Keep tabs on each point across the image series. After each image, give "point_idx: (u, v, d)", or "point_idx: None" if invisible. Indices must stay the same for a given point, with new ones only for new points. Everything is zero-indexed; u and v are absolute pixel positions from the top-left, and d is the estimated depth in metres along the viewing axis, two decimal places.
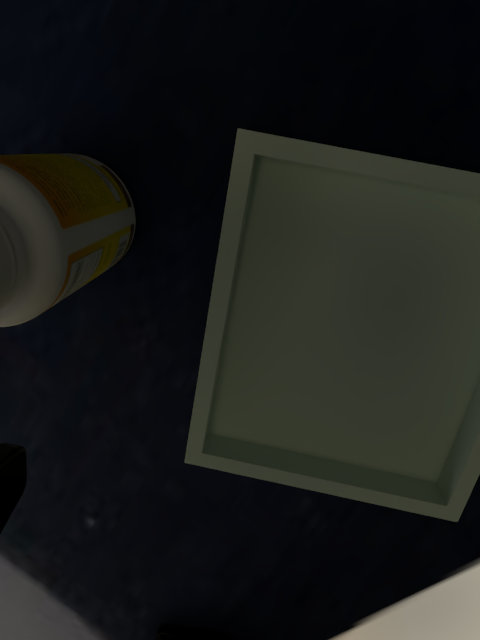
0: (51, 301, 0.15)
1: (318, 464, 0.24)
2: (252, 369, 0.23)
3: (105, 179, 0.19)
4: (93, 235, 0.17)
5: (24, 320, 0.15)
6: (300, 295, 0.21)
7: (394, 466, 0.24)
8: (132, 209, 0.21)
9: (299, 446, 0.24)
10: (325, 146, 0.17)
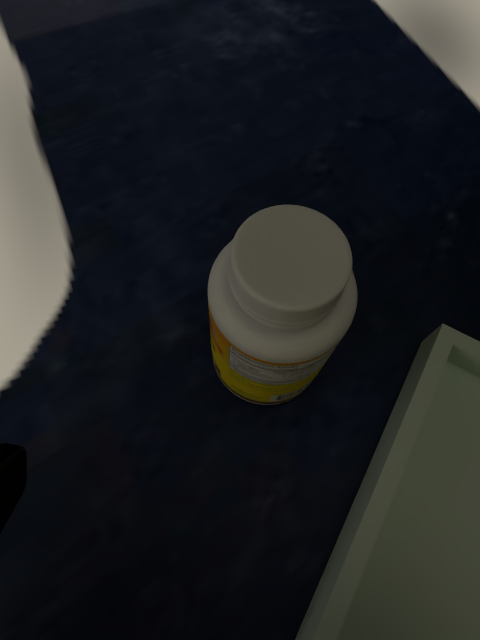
0: (325, 350, 0.16)
1: None
2: (395, 567, 0.19)
3: None
4: None
5: (296, 355, 0.16)
6: (460, 492, 0.21)
7: None
8: None
9: None
10: None
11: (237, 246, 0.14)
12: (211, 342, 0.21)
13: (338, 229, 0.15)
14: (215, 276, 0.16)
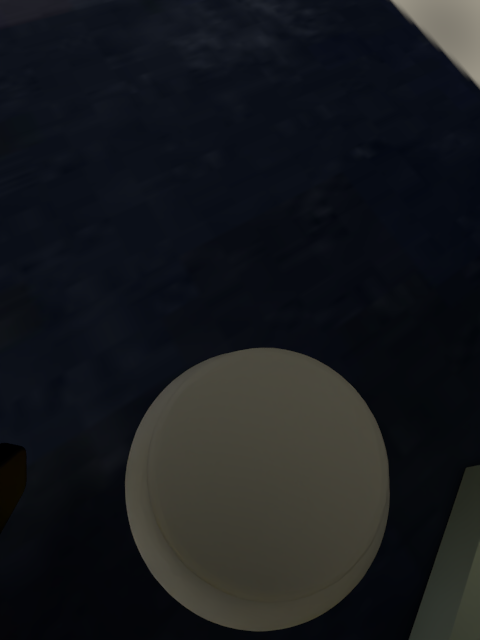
0: (333, 606, 0.09)
1: None
2: None
3: None
4: None
5: (280, 627, 0.08)
6: None
7: None
8: None
9: None
10: None
11: (160, 445, 0.07)
12: None
13: (360, 402, 0.08)
14: (136, 460, 0.09)
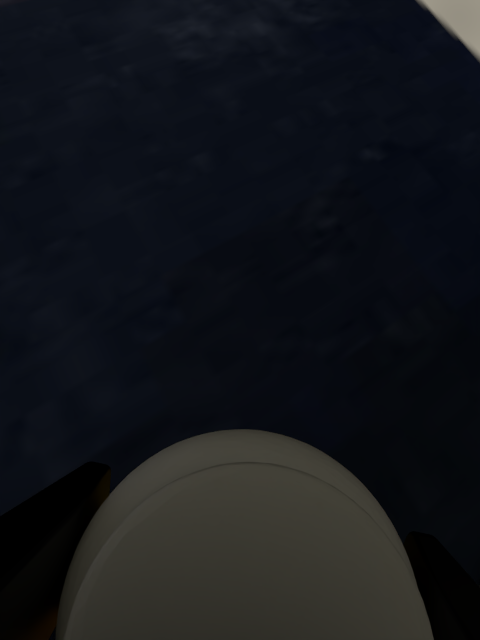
0: None
1: None
2: None
3: None
4: None
5: None
6: None
7: None
8: None
9: None
10: None
11: (81, 637, 0.05)
12: None
13: (392, 555, 0.05)
14: (70, 602, 0.06)
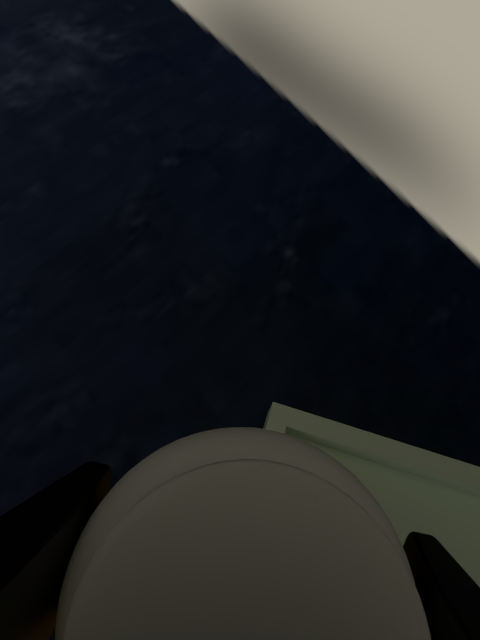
0: None
1: None
2: None
3: None
4: None
5: None
6: None
7: None
8: None
9: None
10: (352, 428, 0.19)
11: (80, 633, 0.05)
12: None
13: (389, 551, 0.05)
14: (69, 599, 0.07)
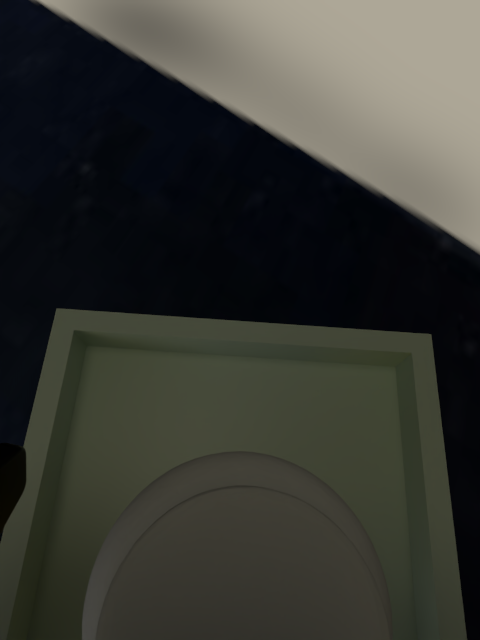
0: None
1: None
2: None
3: None
4: None
5: None
6: None
7: None
8: None
9: None
10: (149, 316, 0.17)
11: (111, 628, 0.06)
12: None
13: (357, 561, 0.06)
14: (94, 601, 0.08)
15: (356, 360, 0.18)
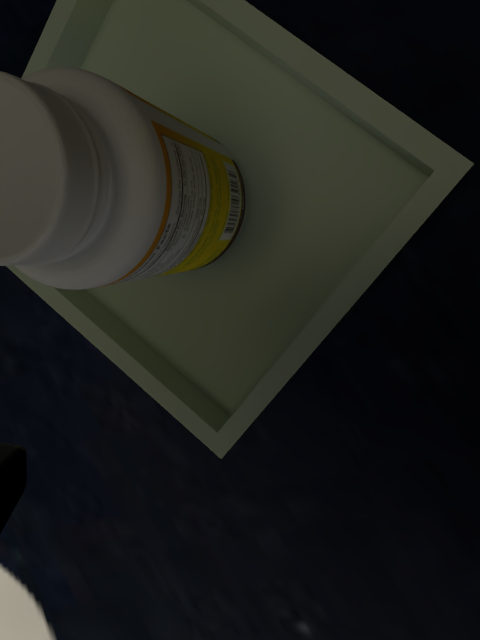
0: (161, 185, 0.11)
1: None
2: (177, 326, 0.20)
3: None
4: (180, 129, 0.13)
5: (144, 229, 0.11)
6: None
7: (374, 225, 0.17)
8: (225, 148, 0.17)
9: (291, 327, 0.19)
10: None
11: None
12: None
13: None
14: None
15: None
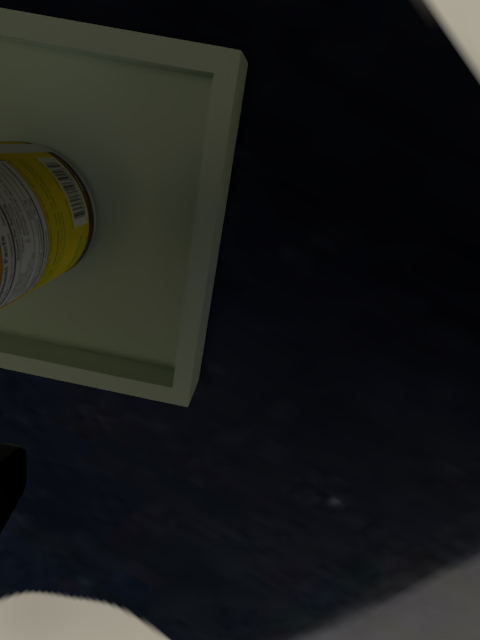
0: None
1: None
2: (94, 320, 0.21)
3: None
4: None
5: None
6: None
7: (200, 145, 0.18)
8: (38, 145, 0.18)
9: (185, 269, 0.20)
10: None
11: None
12: None
13: None
14: None
15: None
